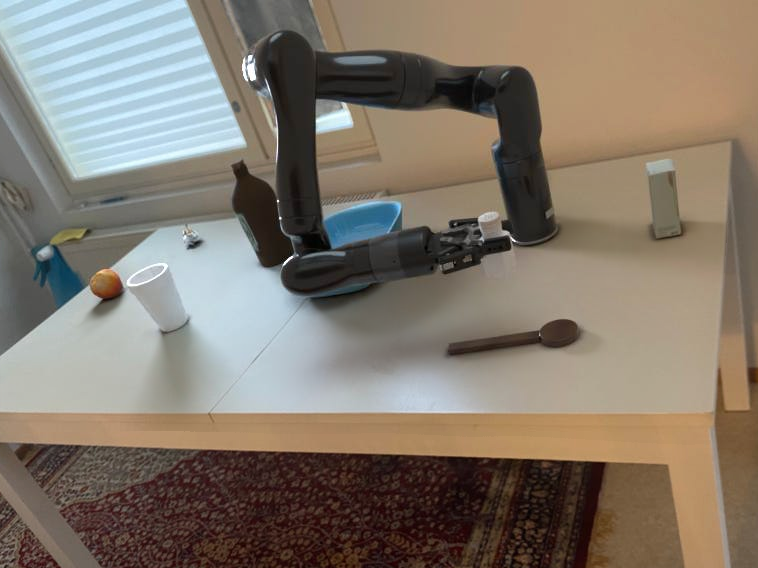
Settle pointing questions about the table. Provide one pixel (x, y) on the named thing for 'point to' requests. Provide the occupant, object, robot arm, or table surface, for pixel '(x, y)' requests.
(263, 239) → the olive oil
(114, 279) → the fruit
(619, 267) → the table surface
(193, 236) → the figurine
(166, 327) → the foam cup
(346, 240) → the casserole dish
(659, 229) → the cosmetic box
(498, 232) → the salt shaker
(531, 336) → the wooden spoon
